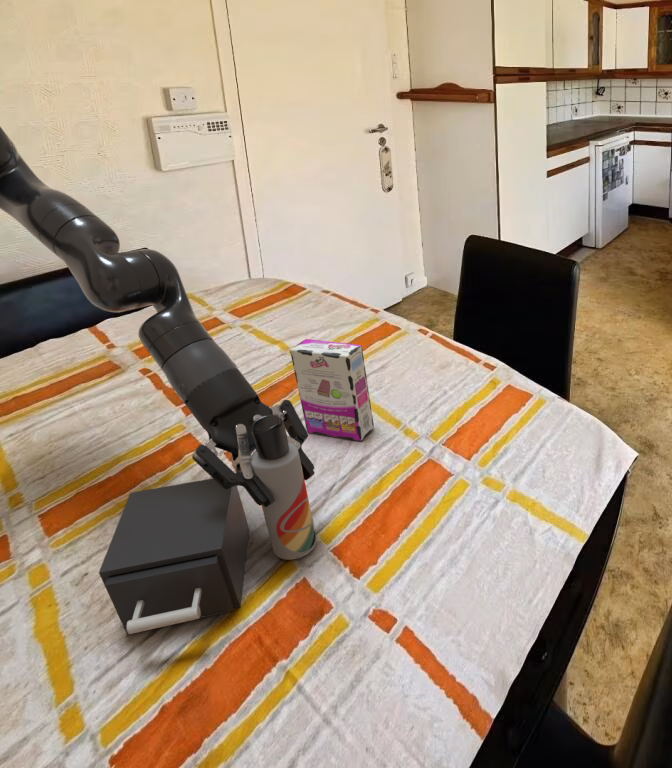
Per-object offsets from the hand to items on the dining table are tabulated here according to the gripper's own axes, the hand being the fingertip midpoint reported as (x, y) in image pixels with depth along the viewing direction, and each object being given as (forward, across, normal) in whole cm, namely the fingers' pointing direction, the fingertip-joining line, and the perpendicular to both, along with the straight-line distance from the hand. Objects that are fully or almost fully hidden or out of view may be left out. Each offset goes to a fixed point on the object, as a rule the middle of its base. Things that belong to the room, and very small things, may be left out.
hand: (290, 489), depth 79 cm
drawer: (+3, +13, -11) cm, 17 cm away
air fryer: (+1, +10, -14) cm, 18 cm away
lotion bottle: (+6, 0, -9) cm, 11 cm away
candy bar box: (-5, -24, -21) cm, 33 cm away
